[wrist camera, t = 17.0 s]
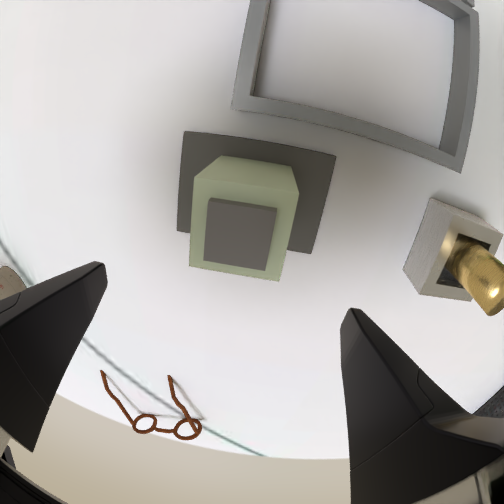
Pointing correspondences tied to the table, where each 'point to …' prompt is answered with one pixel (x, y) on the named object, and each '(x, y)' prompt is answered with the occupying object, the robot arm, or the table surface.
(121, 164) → the table surface
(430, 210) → the grey square socket block
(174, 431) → the glasses
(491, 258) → the rod
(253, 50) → the case
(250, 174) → the module
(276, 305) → the table surface
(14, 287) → the thermos bottle
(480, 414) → the storage bin
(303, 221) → the mat
